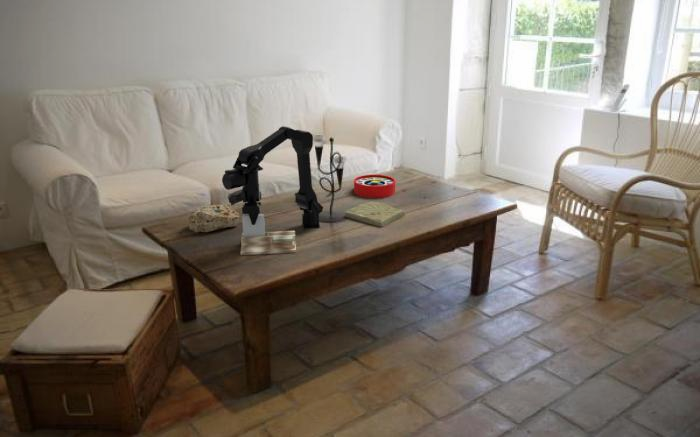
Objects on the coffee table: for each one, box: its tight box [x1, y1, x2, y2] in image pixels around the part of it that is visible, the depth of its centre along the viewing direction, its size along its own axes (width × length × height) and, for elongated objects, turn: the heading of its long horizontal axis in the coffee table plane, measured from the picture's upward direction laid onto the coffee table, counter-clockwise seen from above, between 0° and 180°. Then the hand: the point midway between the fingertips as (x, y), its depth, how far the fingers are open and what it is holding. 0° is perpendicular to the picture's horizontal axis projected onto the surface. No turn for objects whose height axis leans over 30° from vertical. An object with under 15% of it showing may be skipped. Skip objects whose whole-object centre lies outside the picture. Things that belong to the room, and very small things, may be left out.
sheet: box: [241, 213, 266, 237], centre depth 215 cm, size 8×2×10 cm, turn 96°
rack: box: [240, 230, 297, 256], centre depth 215 cm, size 20×14×4 cm
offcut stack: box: [270, 235, 296, 249], centre depth 212 cm, size 9×4×4 cm, turn 96°
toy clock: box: [353, 174, 396, 199], centre depth 278 cm, size 20×6×20 cm
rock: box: [188, 203, 240, 233], centre depth 234 cm, size 21×14×10 cm
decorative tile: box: [344, 200, 405, 228], centre depth 246 cm, size 19×20×4 cm
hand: (253, 223), depth 214 cm, fingers closed on sheet, 2 cm apart
